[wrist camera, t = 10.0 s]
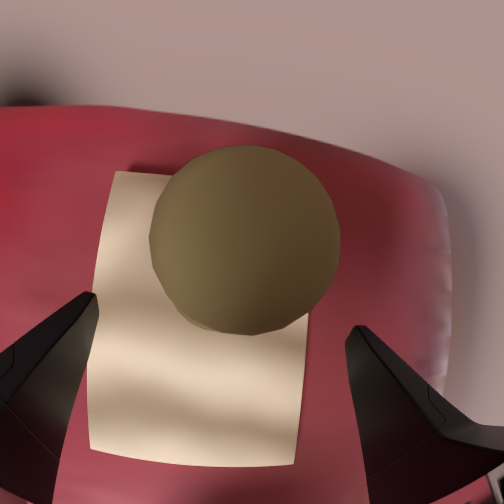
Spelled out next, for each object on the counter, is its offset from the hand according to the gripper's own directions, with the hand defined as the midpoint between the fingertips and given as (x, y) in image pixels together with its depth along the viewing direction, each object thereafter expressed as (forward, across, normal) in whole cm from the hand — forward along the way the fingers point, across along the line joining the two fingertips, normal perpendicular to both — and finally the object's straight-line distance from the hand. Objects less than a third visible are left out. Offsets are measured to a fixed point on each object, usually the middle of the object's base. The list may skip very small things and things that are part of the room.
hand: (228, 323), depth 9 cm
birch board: (+6, +1, +7) cm, 9 cm away
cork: (+7, 0, +4) cm, 8 cm away
